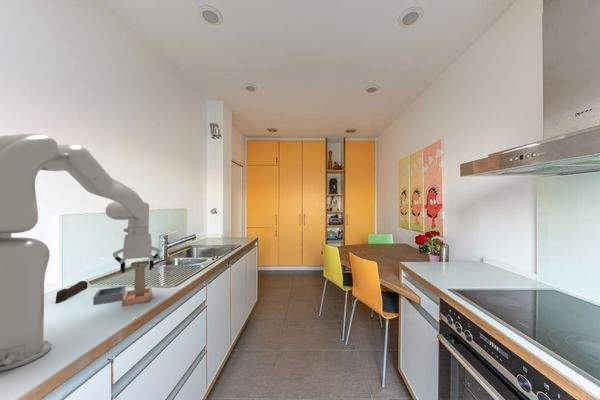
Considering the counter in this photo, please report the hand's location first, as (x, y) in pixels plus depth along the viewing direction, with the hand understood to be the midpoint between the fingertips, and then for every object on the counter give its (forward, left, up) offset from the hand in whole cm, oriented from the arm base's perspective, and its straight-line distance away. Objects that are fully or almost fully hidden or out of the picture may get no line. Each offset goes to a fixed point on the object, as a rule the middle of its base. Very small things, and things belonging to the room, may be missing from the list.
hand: (137, 271), depth 105 cm
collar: (+7, +10, -12) cm, 17 cm away
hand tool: (+20, +26, -13) cm, 35 cm away
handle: (0, -1, -12) cm, 12 cm away
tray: (0, 0, -12) cm, 12 cm away
